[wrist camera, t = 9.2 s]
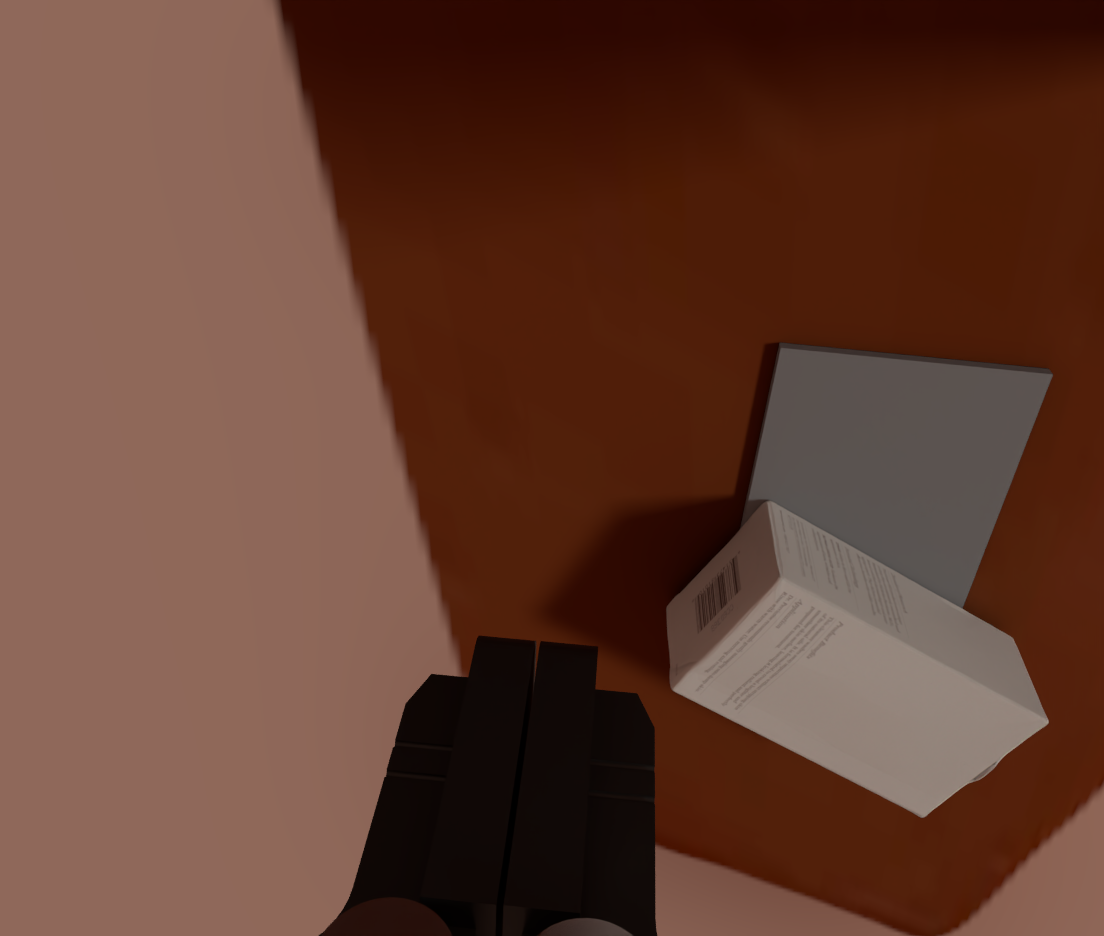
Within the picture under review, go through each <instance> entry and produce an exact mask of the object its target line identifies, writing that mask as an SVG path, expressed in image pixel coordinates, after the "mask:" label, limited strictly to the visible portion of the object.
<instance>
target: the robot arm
mask: <svg viewBox="0 0 1104 936" xmlns="http://www.w3.org/2000/svg"><path fill="white" fill-rule="evenodd" d="M597 655H598V647H597V646H586V645H576V644H565V643H554V642H544V641H541V642H540V647H539V654H538V661H537V669H536V676H535V662H536V641H530V640H520V639H509V638H498V637H488V636H478V638H477V641H476V645H475V649H474V654H473V658H472V663H471V667H470V672H469V677H457V676H447V675H436V674H431V675H430V676H429V677H428V679H427V680H426V681H425V682H424V683H423V684H422V686H421V687H420V688H419V689H418V690H417V691H416V692H415V694H414V695H413V696H412V697H411V698H410V699H409V701H408V702H407V703H406V705H405V708H404V712H403V715H402V718H401V722H400V726H399V729H398V732H397V736H396V739H395V747H393V750H392V754H391V757H390V760H389V764H388V767H387V775H386V777H385V778H384V781H383V785H382V788H381V792H380V795H379V799H378V802H377V806H376V809H375V812H374V816H373V819H372V823H371V826H370V830H369V833H368V837H367V840H366V844H365V848H364V851H363V854H362V858H361V862H360V865H359V868H358V872H357V875H356V879H355V882H354V886H353V889H352V892H351V894H350V897H349V899H348V901H347V903H346V905H345V907H344V909H343V910H342V911H341V913H340V914H339V915H338V917H337V918H336V919H335V920H334V921H333V922H332V923H331V924H330V925H329V926H328V927H327V929H326V930H325V931H324V932H323V933H321V934H320V935H319V936H657V932H656V921H655V804H654V799H655V773H654V767H655V730H654V726H653V724H652V722H651V720H650V718H649V716H648V714H647V712H646V710H645V708H644V706H643V704H642V702H641V700H640V698H639V696H638V694H637V693H627V692H616V691H606V690H595V685H596V670H597ZM534 682H535V683H534Z"/></svg>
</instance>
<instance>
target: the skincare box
mask: <svg viewBox="0 0 1104 936" xmlns="http://www.w3.org/2000/svg"><path fill="white" fill-rule="evenodd" d="M666 615H667V635H668V644H669V655H670V686H671V689H672V690H673V691H674V692H676V693H678V694H680V695H682V696H684V697H686V698H688V699H690V700H692V701H694V702H696V703H698V704H700V705H702V706H704V707H706V708H708V709H710V710H712V711H714V712H716V713H718V714H720V715H722V716H724V717H726V718H728V719H730V720H732V721H734V722H736V723H738V724H740V725H742V726H744V727H746V728H748V729H750V730H752V731H754V732H756V733H758V734H760V735H762V736H764V737H766V738H768V739H770V740H772V741H774V742H775V743H777V744H779V745H781V746H783V747H785V748H787V749H789V750H791V751H793V752H795V753H797V754H799V755H801V756H803V757H805V758H807V759H809V760H811V761H813V762H815V763H817V764H819V765H821V766H823V767H825V768H827V769H828V770H830V771H832V772H834V773H836V774H838V775H840V776H842V777H844V778H846V779H848V780H850V781H852V782H854V783H856V784H858V785H860V786H862V787H864V788H866V789H868V790H870V791H872V792H874V793H876V794H878V795H880V796H882V797H884V798H886V799H887V800H889V801H891V802H893V803H896V804H898V805H899V806H901V807H903V808H905V809H907V810H909V811H911V812H913V813H914V814H916V815H918V816H919V817H921V818H922V817H925V816H926V815H928V814H929V813H930V812H931V811H932V810H933V809H935V808H936V807H937V806H939V805H940V804H941V803H943V802H944V801H945V800H947V799H948V798H949V797H950V796H952V795H953V794H954V793H955V792H957V791H958V790H959V789H961V788H962V787H964V786H965V785H966V784H968V783H971V782H974V781H977V780H979V779H981V778H983V777H984V776H986V775H987V774H988V773H989V772H990V771H991V770H992V769H994V767H995V766H996V765H997V764H998V762H999V761H1000V760H1001V759H1002V758H1003V757H1004V756H1005V755H1006V754H1007V753H1009V752H1010V751H1011V750H1013V749H1014V748H1015V747H1017V746H1018V745H1019V744H1021V743H1022V742H1023V741H1025V740H1026V739H1027V738H1029V737H1030V736H1032V735H1033V734H1034V733H1036V732H1037V731H1039V730H1040V729H1041V728H1043V727H1044V726H1046V725H1047V724H1048V719H1047V717H1046V715H1045V713H1044V710H1043V708H1042V706H1041V703H1040V701H1039V698H1038V696H1037V694H1036V691H1035V689H1034V686H1033V684H1032V682H1031V679H1030V677H1029V675H1028V672H1027V670H1026V667H1025V665H1024V662H1023V660H1022V658H1021V655H1020V653H1019V651H1018V648H1017V646H1016V644H1015V642H1014V640H1013V638H1012V637H1010V636H1009V635H1007V634H1005V633H1004V632H1002V631H1000V630H998V629H997V628H995V627H993V626H992V625H990V624H988V623H986V622H984V621H983V620H981V619H979V618H977V617H975V616H974V615H972V614H970V613H969V612H967V611H965V610H964V609H962V608H960V607H958V606H957V605H955V604H953V603H951V602H949V601H948V600H946V599H944V598H942V597H940V596H938V595H937V594H935V593H933V592H931V591H929V590H928V589H926V588H924V587H922V586H921V585H919V584H917V583H915V582H914V581H912V580H910V579H908V578H907V577H905V576H903V575H901V574H900V573H898V572H896V571H894V570H892V569H891V568H889V567H887V566H885V565H884V564H882V563H880V562H878V561H876V560H875V559H873V558H871V557H869V556H868V555H866V554H864V553H863V552H861V551H859V550H857V549H856V548H854V547H852V546H850V545H848V544H847V543H845V542H843V541H841V540H839V539H838V538H836V537H834V536H833V535H831V534H829V533H827V532H825V531H824V530H822V529H820V528H818V527H816V526H815V525H813V524H811V523H809V522H808V521H806V520H804V519H802V518H801V517H799V516H797V515H795V514H793V513H792V512H790V511H788V510H786V509H785V508H783V507H781V506H779V505H778V504H776V503H774V502H773V501H770V500H769V501H766V502H764V503H763V504H761V505H760V507H759V508H758V509H757V510H756V511H755V512H754V513H753V514H752V516H751V517H750V518H749V520H748V521H747V522H746V523H745V524H744V525H743V526H742V528H741V529H740V530H739V531H738V532H737V534H736V535H735V536H734V537H733V538H732V539H731V540H730V541H729V542H728V544H727V545H726V546H725V547H724V548H723V549H722V550H721V551H720V552H719V553H718V554H717V555H716V556H715V557H714V558H713V559H712V560H711V561H710V562H709V563H708V564H707V565H706V566H705V567H704V568H703V569H702V570H701V571H700V572H699V574H698V575H697V576H696V577H695V578H694V579H693V580H692V581H691V582H690V583H689V584H688V585H687V586H686V587H685V588H684V589H683V590H682V591H681V592H680V593H679V594H677V595H676V596H675V597H674V599H673V600H672V601H671V602H670V603H669V604H668V605H667V608H666Z"/></svg>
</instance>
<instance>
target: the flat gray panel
mask: <svg viewBox="0 0 1104 936" xmlns="http://www.w3.org/2000/svg"><path fill="white" fill-rule="evenodd" d="M1052 376H1053V374H1052V373H1051V371H1050V370H1049V369H1045V368H1035V367H1024V366H1014V365H1004V364H993V363H983V362H973V361H963V360H952V359H942V358H932V357H922V356H911V355H901V354H891V353H881V352H870V351H860V350H850V349H840V348H829V347H819V346H809V345H799V344H788V343H779V347H778V352H777V357H776V362H775V366H774V371H773V376H772V380H771V385H770V390H769V395H768V399H767V404H766V409H765V413H764V418H763V423H762V428H761V432H760V437H759V442H758V446H757V451H756V456H755V460H754V465H753V470H752V475H751V479H750V484H749V489H748V493H747V498H746V503H745V508H744V512H743V517H742V522H741V526H740V529H741V528H742V526H743V525H744V524H745V523H746V522H747V521H748V520H749V518H750V517H751V516H752V514H753V513H754V512H755V511H756V510H757V509H758V508H759V507H760V505H761V504H763V503H764V502H766V501H769V500H770V501H773V502H774V503H776V504H778V505H779V506H781V507H783V508H785V509H786V510H788V511H790V512H792V513H793V514H795V515H797V516H799V517H801V518H802V519H804V520H806V521H808V522H809V523H811V524H813V525H815V526H816V527H818V528H820V529H822V530H824V531H825V532H827V533H829V534H831V535H833V536H834V537H836V538H838V539H839V540H841V541H843V542H845V543H847V544H848V545H850V546H852V547H854V548H856V549H857V550H859V551H861V552H863V553H864V554H866V555H868V556H869V557H871V558H873V559H875V560H876V561H878V562H880V563H882V564H884V565H885V566H887V567H889V568H891V569H892V570H894V571H896V572H898V573H900V574H901V575H903V576H905V577H907V578H908V579H910V580H912V581H914V582H915V583H917V584H919V585H921V586H922V587H924V588H926V589H928V590H929V591H931V592H933V593H935V594H937V595H938V596H940V597H942V598H944V599H946V600H948V601H949V602H951V603H953V604H955V605H957V606H958V607H960V608H963V605H964V603H965V600H966V597H967V595H968V592H969V590H970V587H971V585H972V582H973V579H974V577H975V574H976V572H977V569H978V567H979V564H980V561H981V559H982V556H983V554H984V551H985V548H986V546H987V543H988V541H989V538H990V536H991V533H992V530H993V528H994V525H995V523H996V520H997V517H998V515H999V512H1000V510H1001V507H1002V505H1003V502H1004V499H1005V497H1006V494H1007V492H1008V489H1009V486H1010V484H1011V481H1012V479H1013V476H1014V474H1015V471H1016V468H1017V466H1018V463H1019V461H1020V458H1021V456H1022V453H1023V450H1024V448H1025V445H1026V443H1027V440H1028V437H1029V435H1030V432H1031V430H1032V427H1033V425H1034V422H1035V419H1036V417H1037V414H1038V412H1039V409H1040V406H1041V404H1042V401H1043V399H1044V396H1045V394H1046V391H1047V388H1048V386H1049V383H1050V381H1051V378H1052Z"/></svg>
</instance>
